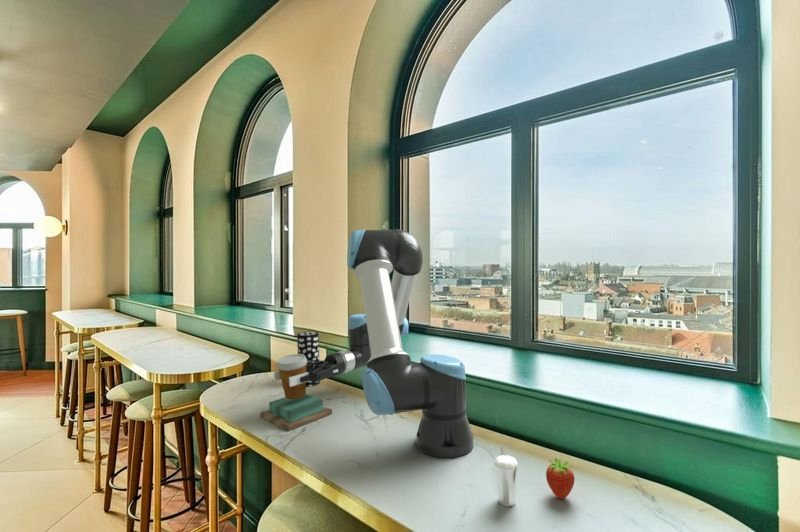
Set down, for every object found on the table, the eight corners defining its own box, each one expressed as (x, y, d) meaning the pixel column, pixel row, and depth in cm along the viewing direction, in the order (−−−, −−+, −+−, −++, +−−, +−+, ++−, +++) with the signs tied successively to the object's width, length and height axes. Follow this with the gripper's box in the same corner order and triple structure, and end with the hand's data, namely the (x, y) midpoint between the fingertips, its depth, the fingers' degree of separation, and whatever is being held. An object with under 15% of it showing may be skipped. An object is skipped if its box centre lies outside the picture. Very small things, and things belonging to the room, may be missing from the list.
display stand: (332, 414, 130) (331, 399, 130) (288, 431, 118) (288, 415, 118) (303, 402, 141) (302, 389, 141) (260, 417, 129) (260, 402, 129)
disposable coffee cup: (316, 392, 130) (313, 356, 129) (291, 404, 123) (287, 366, 121) (298, 386, 136) (295, 351, 135) (274, 397, 129) (269, 360, 128)
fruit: (548, 503, 81) (548, 464, 81) (544, 489, 86) (543, 452, 86) (577, 506, 80) (576, 466, 80) (571, 491, 85) (570, 453, 85)
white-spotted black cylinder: (298, 381, 165) (296, 332, 164) (319, 379, 167) (317, 330, 167) (299, 387, 157) (297, 336, 156) (321, 385, 159) (319, 334, 159)
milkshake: (513, 492, 86) (512, 445, 85) (521, 508, 80) (520, 458, 80) (491, 493, 85) (490, 446, 85) (498, 509, 80) (497, 459, 80)
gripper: (359, 379, 136) (301, 398, 119) (321, 368, 150) (264, 384, 133) (358, 357, 135) (300, 373, 119) (320, 348, 149) (263, 361, 133)
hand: (281, 379), depth 126 cm, fingers closed on disposable coffee cup, 8 cm apart
